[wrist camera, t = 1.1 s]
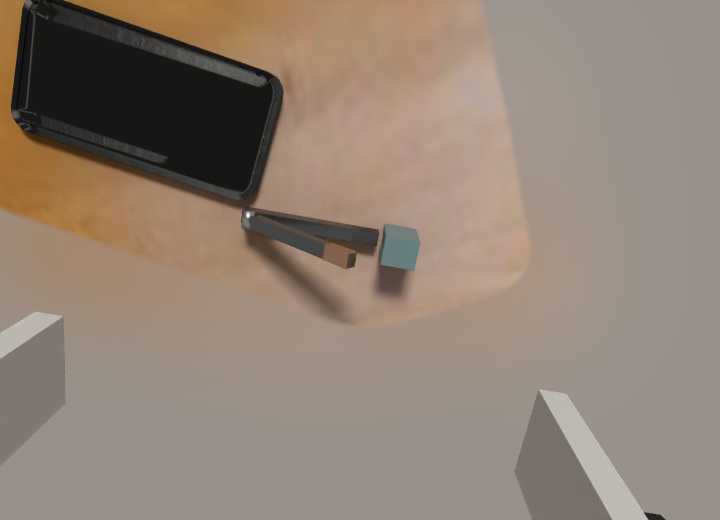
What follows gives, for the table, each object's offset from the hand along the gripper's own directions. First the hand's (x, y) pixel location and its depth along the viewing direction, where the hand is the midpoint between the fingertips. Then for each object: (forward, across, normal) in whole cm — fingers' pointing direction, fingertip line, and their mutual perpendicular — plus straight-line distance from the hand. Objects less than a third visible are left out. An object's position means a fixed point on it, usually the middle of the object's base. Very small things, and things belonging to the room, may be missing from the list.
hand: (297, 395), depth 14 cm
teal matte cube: (+19, +4, 0) cm, 19 cm away
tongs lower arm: (+19, -2, 0) cm, 19 cm away
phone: (+20, -12, +6) cm, 24 cm away
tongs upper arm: (+16, -2, 0) cm, 16 cm away
